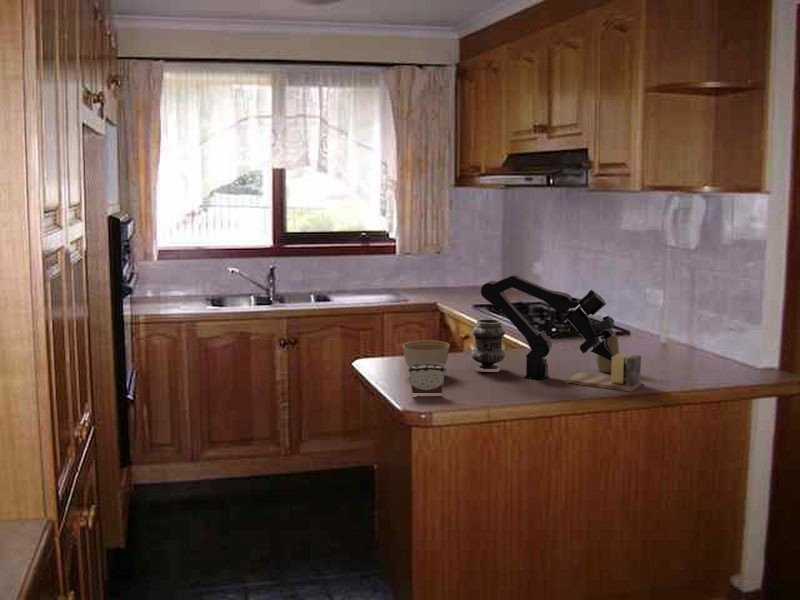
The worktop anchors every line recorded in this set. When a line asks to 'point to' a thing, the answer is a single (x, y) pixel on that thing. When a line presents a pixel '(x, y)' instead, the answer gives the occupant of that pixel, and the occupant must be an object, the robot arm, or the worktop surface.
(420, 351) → the planter bowl
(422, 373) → the food container
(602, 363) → the squeeze bottle
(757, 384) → the worktop surface
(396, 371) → the worktop surface
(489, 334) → the apothecary jar
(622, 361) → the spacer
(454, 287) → the worktop surface
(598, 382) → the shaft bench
